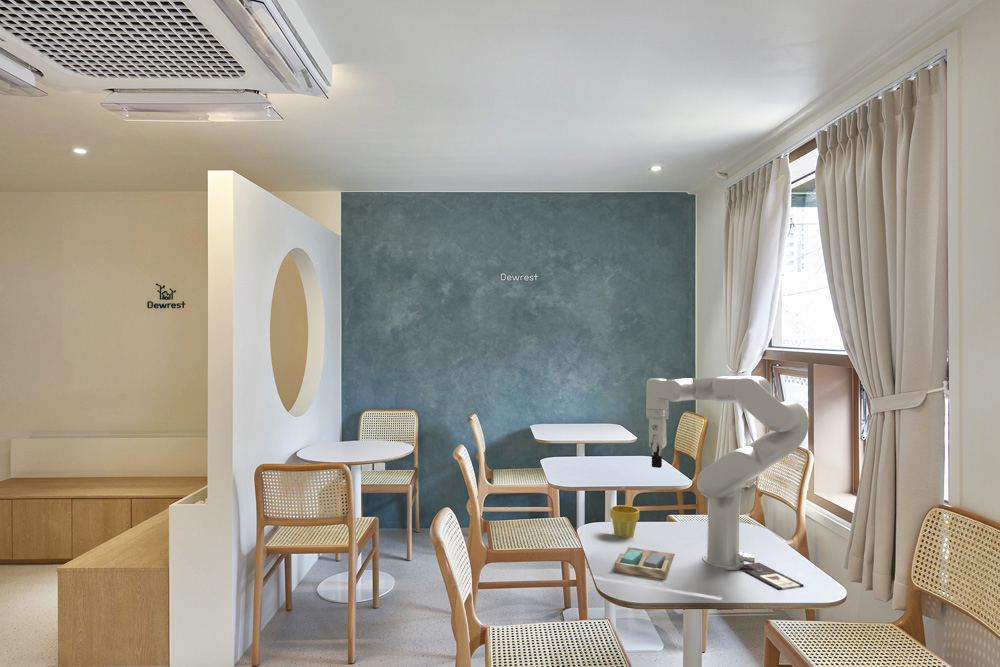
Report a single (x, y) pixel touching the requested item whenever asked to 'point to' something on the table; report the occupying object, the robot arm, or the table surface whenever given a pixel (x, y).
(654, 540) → the table surface
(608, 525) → the table surface
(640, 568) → the comb board
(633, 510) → the plant pot
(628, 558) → the aqua foam brick
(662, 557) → the grey rectangular block
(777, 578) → the chocolate bar
